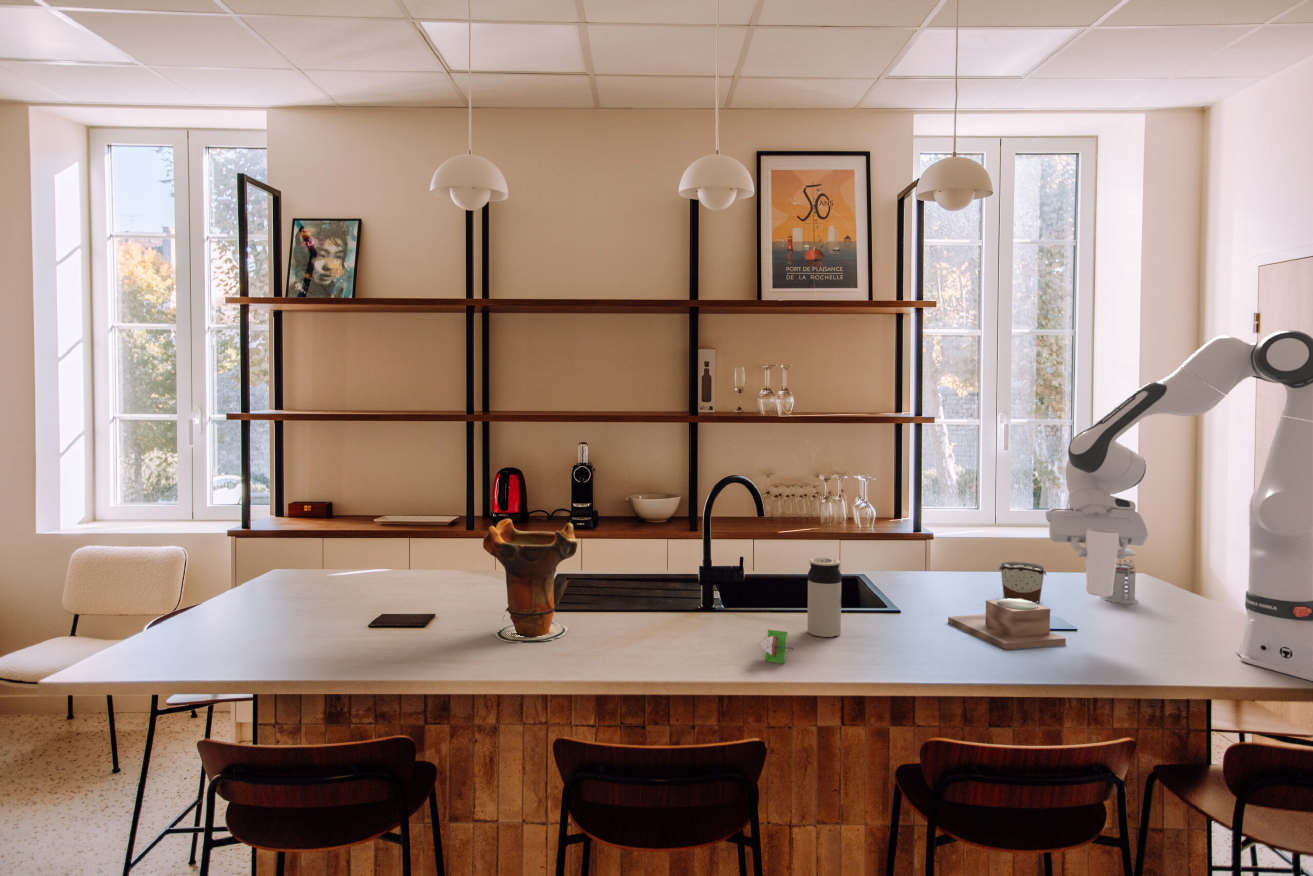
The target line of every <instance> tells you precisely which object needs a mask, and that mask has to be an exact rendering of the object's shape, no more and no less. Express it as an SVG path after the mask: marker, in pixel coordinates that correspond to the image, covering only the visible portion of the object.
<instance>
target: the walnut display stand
mask: <svg viewBox="0 0 1313 876" xmlns="http://www.w3.org/2000/svg"><path fill="white" fill-rule="evenodd" d="M947 621H948V622H947V623H948V624H950V625H952V626H954V627H956V628H959V629H961V630H962V631H964V632H966V633H967V632H968V633H970V634H972V635H973V636H976V637H977V638H980V639H982V640H984V641H987V642H988V643H990V644H993V645H995V646H997V647H999V648H1001V647H1002V648H1001V649H1003V648H1004V649H1003V650H1005V649H1006V650H1005V651H1008V650H1007V649H1011V650H1018V649H1017V648H1023V649H1031V648H1032V647H1034V648H1041V647H1042V648H1045V646H1046V647H1055V646H1056V645H1058V646H1066V645H1067V644H1066V642H1067V639H1066V638H1065V637H1063V636H1061V635H1058V634H1055V633H1053V632H1050V627H1051V623H1050V622H1051V608H1049V607H1046V606H1045V605H1044V606H1043V605H1041V604H1037V602H1031V601H1027V600H1024V599H1021V598H1018V599H1006V598H1000V599H989V600H985V614H972V615H957V616H947Z"/></svg>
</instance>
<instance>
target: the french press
mask: <svg viewBox="0 0 1313 876" xmlns="http://www.w3.org/2000/svg"><path fill="white" fill-rule="evenodd" d="M1119 549H1121V547H1120V546H1119ZM1137 554H1138V552H1136V551H1135V550H1133V549H1131V548H1129V547H1127V548H1126V549H1125V557H1134V556H1136V555H1137ZM1121 560H1122V559H1119V562H1118V563H1117V564H1116V571H1115V578H1114V585H1113V594H1112V595H1111V596H1107V597H1103V596H1099V598H1100V599H1101V598H1102V599H1101V600H1103V599H1104V601H1106V600H1108V602H1111V601H1112V602H1111V603H1116V602H1119V603H1118V604H1127V603H1131V604H1138V603H1139V602H1140V601H1139V600H1138V598H1136V573H1137V572H1136V567H1135V564H1134V561H1133V559H1129V563H1128V562H1127V560H1126V559H1123V563H1121ZM1131 563H1132V565H1131ZM1133 570H1134V571H1133Z"/></svg>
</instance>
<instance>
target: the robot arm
mask: <svg viewBox="0 0 1313 876" xmlns="http://www.w3.org/2000/svg"><path fill="white" fill-rule="evenodd" d="M1248 378H1255V379H1259V380H1262V381H1265V382H1269V383H1272V384H1281V385H1282V386H1283V387H1284V388H1285V390H1286V400H1285V404H1284V406H1283V410H1282V413H1281V416H1280V419H1279V422H1278V424H1277V427H1276V431H1275V432H1274V436H1273V439H1272V442H1271V445H1270V448H1269V451H1268V455H1267V458H1266V462H1265V465H1264V470H1263V472H1262V476H1261V479H1260V483H1259V486H1258V487H1257V488H1256V489H1255V490H1254V491H1253V493H1252V495H1251V496H1250V501H1249V558H1248V560H1249V565H1248V589H1247V591H1245V598H1244V599H1245V600H1244V602H1245V603H1244V606H1245V609H1246V617H1245V621H1244V622H1245V623H1244V627H1243V628H1244V629H1243V633H1242V636H1241V640H1240V642H1239V645H1238V648H1237V650H1236V653H1237V654H1238V655H1239V656H1240V661H1241V662H1243V663H1245V664H1250V665H1254V666H1257V667H1261V668H1264V669H1268V670H1271V671H1274V672H1278V673H1282V674H1286V675H1290V676H1292V677H1297V678H1301V679H1303V680H1308V681H1311V682H1313V337H1312V336H1310V335H1309V334H1307V333H1305V332H1302V331H1299V330H1293V329H1286V330H1279V331H1276V332H1273V333H1271V334H1269V335H1267V336H1265V337H1264V338H1262V340H1260V341H1258V342H1255V343H1249V342H1245V341H1243V340H1242V339H1240V338H1237V337H1234V336H1229V335H1220V336H1216V337H1213V338H1212V339H1211V340H1209V341H1208V342H1207V343H1205V344H1204V345H1202V346H1201V347H1200V348H1199V349H1197V350H1196V351H1195V352H1194V353H1193V354H1191V355H1190V356H1189V357H1188V358H1187V359H1186V360H1185V361H1184V362H1183V363H1182V364H1180V366H1179V367H1178V368H1177V369H1176V370H1175V371H1173V372H1172V373H1171V374H1170V375H1168V376H1166V377H1165V378H1162V379H1161V380H1158V381H1151V382H1149V383H1147V384H1144V385H1143V386H1141V387H1140V388H1138V389H1137V390H1135V391H1134V392H1133V393H1132V394H1130V395H1129V396H1127V398H1125V399H1123V401H1122V402H1120V403H1119V404H1118V405H1116V406H1115V407H1114V408H1113V409H1111V410H1110V411H1109V412H1107V414H1105V415H1104V416H1103V417H1102V418H1101V419H1100V420H1098V421H1096V423H1094V424H1092V425H1091V426H1089V427H1088V428H1086V429H1084V430H1083V431H1081V432H1079V433H1078V434H1077V435H1075V436H1074V437H1073V438H1072V439H1071V441H1070V442H1069V444H1068V449H1067V454H1068V455H1067V456H1068V459H1067V462H1066V466H1065V481H1066V488H1067V490H1068V492H1069V494H1070V496H1069V504H1070V507H1060V508H1059V507H1052V508H1050V509H1048V510H1047V511H1046V513H1045V516H1046V517H1045V518H1046V521H1047V522H1048V523H1049V528H1048V529H1049V539H1050V540H1051V541H1052V542H1054V543H1065V544H1066V543H1069V544H1070V546H1071V547H1072V548H1073V549H1074V551H1076V552H1077V557H1078V558H1085V557H1086V548H1085V546H1083V547H1082V546H1081V544H1085V535H1086V529H1089V528H1094V529H1092V530H1091V531H1094V532H1102V533H1110V532H1109V531H1108V530H1106V529H1109V530H1114V531H1118V532H1119V546H1120V547H1121V549H1118V557H1117V560H1120V559H1121V560H1126V559H1125V558H1126V556H1125V549H1126V548H1128V546H1143V545H1144V544H1146V542H1147V539H1148V535H1149V534H1148V530H1147V527H1146V523H1145V521H1144V519H1143V517H1142V515H1141V514H1140V513H1139V512H1137V511H1136V508H1137V507H1136V503H1135V502H1134V501H1132V500H1130V499H1129V500H1128V499H1126V498H1125V499H1123V498H1120V497H1117V496H1114V495H1116V494H1118V493H1122V492H1124V491H1127V490H1130V489H1131V488H1133V487H1136V486H1137V485H1138V484H1140V482H1141V481H1143V479H1144V477H1145V474H1146V471H1147V464H1146V460H1145V459H1144V458H1143V456H1141V455H1140V454H1138V453H1136V452H1135V451H1133V450H1131V449H1130V448H1128V447H1127V446H1124V445H1123V444H1121V443H1119V442H1117V441H1116V440H1117V439H1118V438H1120V437H1121V436H1122V435H1123V434H1125V433H1126V432H1127V431H1128V430H1130V429H1131V428H1132V427H1133V426H1135V425H1136V424H1137V423H1138V422H1140V421H1141V420H1142V419H1144V418H1146V417H1149V416H1152V415H1157V414H1164V415H1165V414H1167V415H1173V416H1179V417H1193V416H1201V415H1204V414H1206V413H1208V412H1209V411H1211V410H1212V409H1213V408H1215V407H1216V406H1217V405H1218V404H1219V403H1220V402H1222V400H1223V399H1224V398H1225V397H1226V396H1227V395H1228V394H1230V392H1231V391H1232V390H1233V389H1234V388H1235V387H1236V386H1237V385H1238V384H1240V383H1241V382H1242V381H1244V380H1246V379H1248Z"/></svg>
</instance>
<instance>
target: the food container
mask: <svg viewBox="0 0 1313 876" xmlns="http://www.w3.org/2000/svg"><path fill="white" fill-rule="evenodd" d="M998 571H1000V573H1001V574H1000V575H1001V582H1002V583H1001V585H1002V594H1003V599H1006V598H1011V599H1018V598H1021V599H1024V600H1028V601H1038V602H1041V596H1042V591H1043V590H1042V589H1043V582H1044V576H1047V571H1046V569H1045V567H1044V566H1043V565H1040V564H1036V563H1032V562H1026V561H1025V562H1024V561H1004V562H1001V563H1000V564H999V568H998Z"/></svg>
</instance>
